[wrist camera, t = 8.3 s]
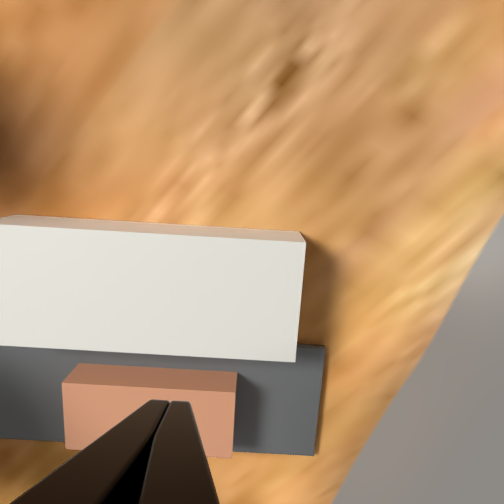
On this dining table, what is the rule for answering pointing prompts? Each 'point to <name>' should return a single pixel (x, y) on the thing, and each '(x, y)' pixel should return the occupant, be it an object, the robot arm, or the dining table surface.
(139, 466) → the robot arm
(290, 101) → the dining table surface
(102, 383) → the pink rectangular block
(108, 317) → the block
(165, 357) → the mat
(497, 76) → the dining table surface
